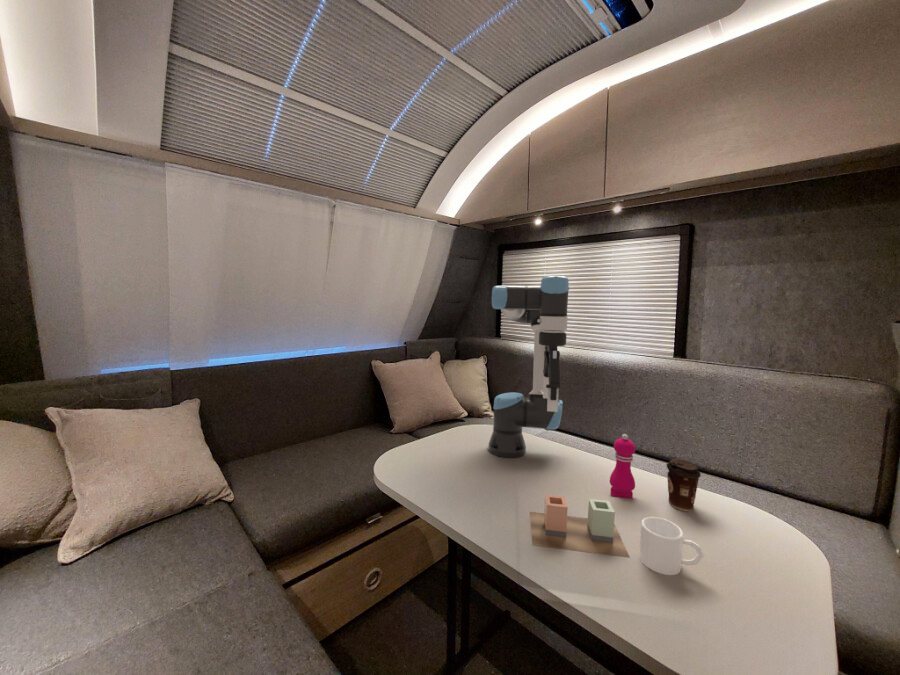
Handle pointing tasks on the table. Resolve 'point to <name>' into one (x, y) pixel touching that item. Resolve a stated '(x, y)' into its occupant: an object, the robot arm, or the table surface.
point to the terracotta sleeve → (555, 516)
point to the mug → (664, 546)
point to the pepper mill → (623, 469)
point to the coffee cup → (682, 483)
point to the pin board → (575, 537)
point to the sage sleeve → (601, 520)
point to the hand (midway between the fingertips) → (549, 404)
